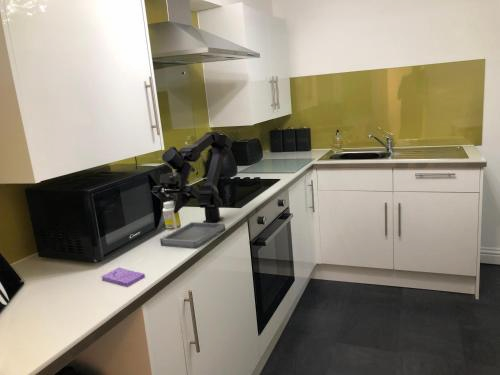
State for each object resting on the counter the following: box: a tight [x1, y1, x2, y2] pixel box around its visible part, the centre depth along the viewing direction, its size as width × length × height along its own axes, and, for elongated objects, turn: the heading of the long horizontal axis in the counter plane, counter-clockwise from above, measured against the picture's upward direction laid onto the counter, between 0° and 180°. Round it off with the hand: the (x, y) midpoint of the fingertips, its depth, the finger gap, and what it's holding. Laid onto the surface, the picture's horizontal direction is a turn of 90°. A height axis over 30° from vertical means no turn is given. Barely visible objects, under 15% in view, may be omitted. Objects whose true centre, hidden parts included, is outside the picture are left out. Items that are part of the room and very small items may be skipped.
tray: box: [159, 221, 226, 249], centre depth 158 cm, size 20×16×2 cm
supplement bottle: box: [162, 200, 182, 232], centre depth 152 cm, size 6×6×10 cm
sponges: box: [100, 266, 146, 287], centre depth 127 cm, size 7×13×2 cm, turn 55°
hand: (168, 212), depth 150 cm, fingers closed on supplement bottle, 5 cm apart
